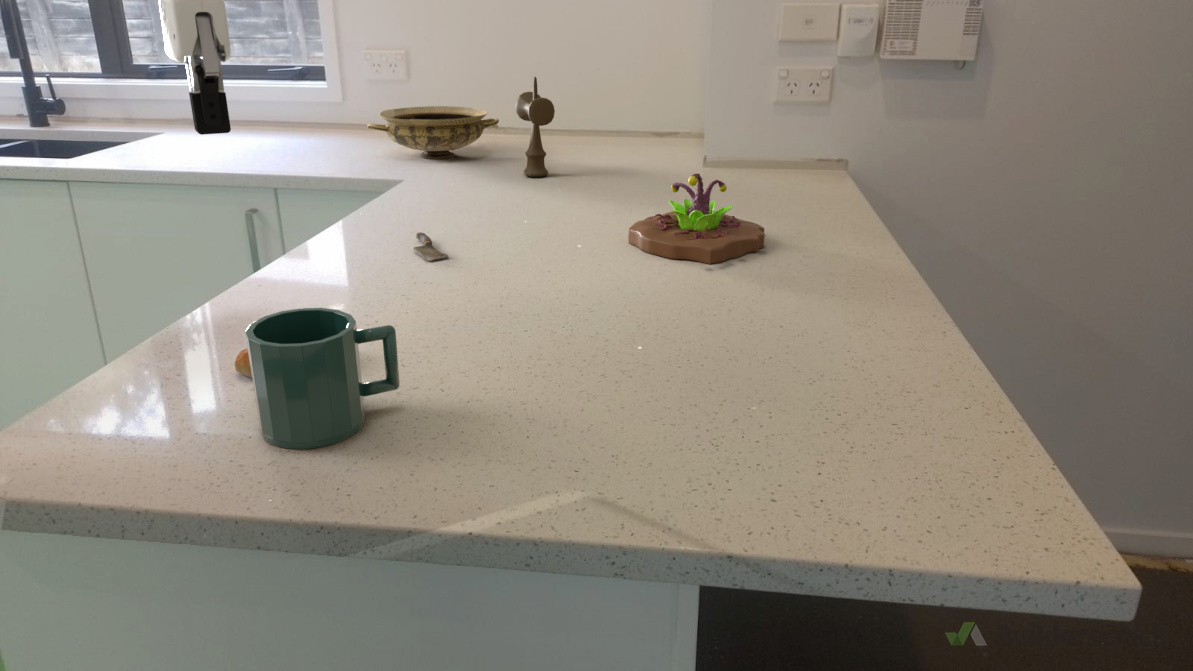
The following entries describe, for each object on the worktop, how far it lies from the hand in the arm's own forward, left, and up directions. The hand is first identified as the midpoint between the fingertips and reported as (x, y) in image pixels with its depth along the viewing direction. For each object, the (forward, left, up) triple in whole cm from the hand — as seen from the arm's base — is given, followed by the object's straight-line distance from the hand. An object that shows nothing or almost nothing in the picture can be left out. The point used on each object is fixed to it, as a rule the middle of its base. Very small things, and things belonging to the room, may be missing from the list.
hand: (213, 132), depth 87 cm
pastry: (+11, -7, -22) cm, 26 cm away
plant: (+43, +52, -22) cm, 71 cm away
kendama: (+3, +91, -22) cm, 94 cm away
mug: (+21, -16, -22) cm, 34 cm away
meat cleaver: (+6, +35, -22) cm, 42 cm away
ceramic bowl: (-26, +104, -22) cm, 110 cm away
